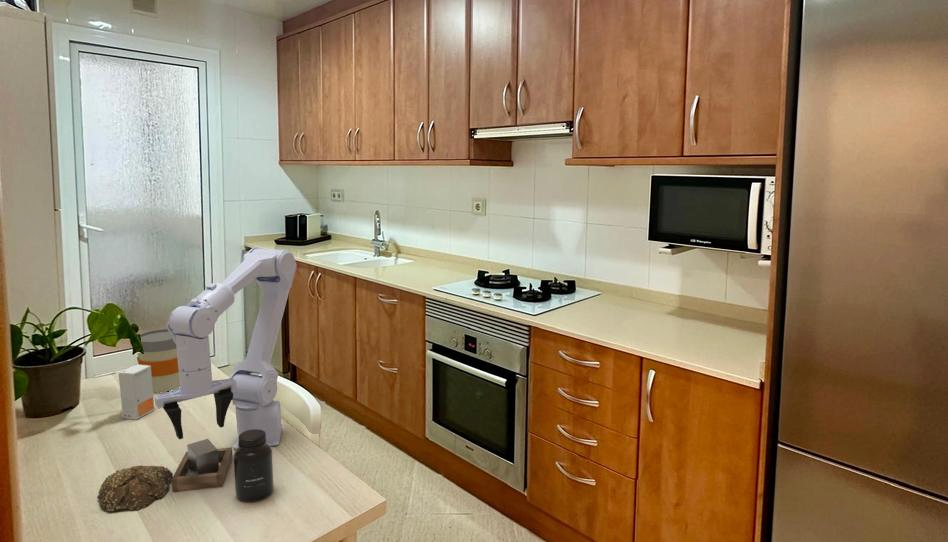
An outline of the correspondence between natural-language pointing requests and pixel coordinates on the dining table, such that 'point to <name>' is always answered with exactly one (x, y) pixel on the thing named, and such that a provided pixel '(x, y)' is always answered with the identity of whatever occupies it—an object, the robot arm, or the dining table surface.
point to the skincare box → (136, 391)
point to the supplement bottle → (253, 466)
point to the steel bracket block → (202, 457)
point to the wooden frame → (202, 480)
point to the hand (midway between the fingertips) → (200, 431)
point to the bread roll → (134, 487)
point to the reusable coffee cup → (160, 359)
